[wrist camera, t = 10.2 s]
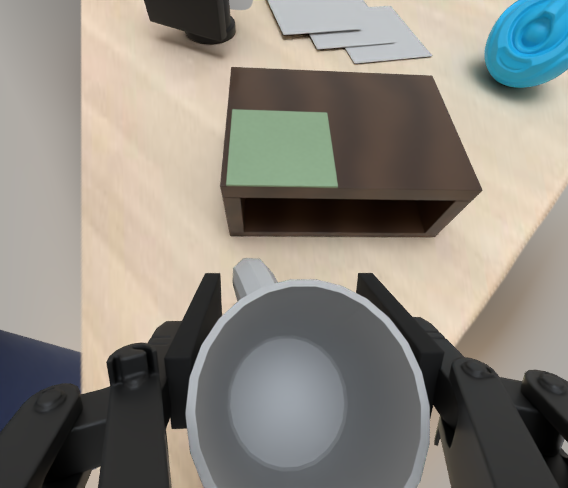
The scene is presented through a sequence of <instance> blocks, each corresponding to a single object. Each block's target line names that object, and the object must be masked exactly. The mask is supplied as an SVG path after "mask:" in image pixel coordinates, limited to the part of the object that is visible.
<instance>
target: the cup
mask: <svg viewBox="0 0 568 488" xmlns="http://www.w3.org/2000/svg"><path fill="white" fill-rule="evenodd" d="M233 287H234V291H235V294H236V297H237V301H238V302H237V303H236V304H235V305H233V306H232V307H231V308H230V309H229V310H228V311H227V312H226V313H225V314H224V315H223V316H221V317H220V318H219V319H218V321H217V322H216V324H215V325H214V327H213V328H212V330H211V332H210V333H209V335H208V336H207V338H206V339H205V341H204V342H203V344H202V345H201V348H200V351H199V353H198V356H197V359H196V361H195V364H194V367H193V370H192V372H191V375H190V379H189V388H188V396H187V405H186V422H187V431H188V439H189V447H190V454H191V456H192V459H193V461H194V464H195V466H196V469H197V472H198V474H199V477H200V479H201V482H202V484H203V487H204V488H417V486H418V484H419V483H420V481H421V477H422V473H423V469H424V464H425V461H426V456H427V452H428V448H429V444H430V406H429V401H428V397H427V393H426V388H425V384H424V379H423V375H422V372H421V369H420V367H419V365H418V363H417V361H416V359H415V356H414V354H413V352H412V350H411V348H410V346H409V344H408V342H407V341H406V339H405V338H404V337H403V335H402V334H401V333H400V331H399V330H398V329H397V327H396V326H395V325H394V323H393V322H392V321H391V319H390V318H389V317H388V316H387V315H385V314H384V313H383V312H382V311H381V310H379V309H378V308H377V307H376V306H375V305H374V304H372V303H371V302H370V301H369V300H368V299H366V298H364V297H362V296H361V295H359V294H357V293H355V292H353V291H351V290H349V289H347V288H345V287H343V286H340V285H336V284H332V283H328V282H324V281H320V280H287V281H283V282H279V283H278V282H277V280H276V278H275V276H274V274H273V273H272V272H271V271H270V269H269V268H268V267H267V266H266V265H265V264H264V263H263V262H262V261H261V260H260V259H253V258H244V259H242V260H241V261H240V262H239V263H238V264H237V265H236V266H235V267H234V268H233Z"/></svg>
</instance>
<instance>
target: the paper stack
mask: <svg viewBox="0 0 568 488" xmlns="http://www.w3.org/2000/svg"><path fill="white" fill-rule="evenodd" d="M268 3H269V5H270V7H271V9H272V11H273V13H274V15H275V18H276V20H277V22H278V24H279V26H280V28H281V30H282V33H283V35H290V34H304V33H309V35H310V36H311V38H312V40H313V42H314V44H315V46H316V48H317V49H327V48H339V47H345V49H346V50H347V52H348V54H349V55H350V57H351V58H352V60H353V62H354V63H355V64H356V63H366V62H377V61H387V60H397V59H408V58H418V57H428V56H432V55H431V54H430V52H429V51H428V50H427V49H426V48H425V46H424V45H423V44H422V43H421V42H420V40H419V39H418V38H417V37H416V36H415V34H414V33H413V32H412V31H411V30H410V28H409V27H408V26H407V25H406V24H405V22H404V21H403V20H402V19H401V18H400V17H399V15H398V14H397V13H396V12H395V11H394V9H393V8H392V7H391V6H382V7H368V6H367V4H366V3H365V2H364V1H363V0H268Z"/></svg>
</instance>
